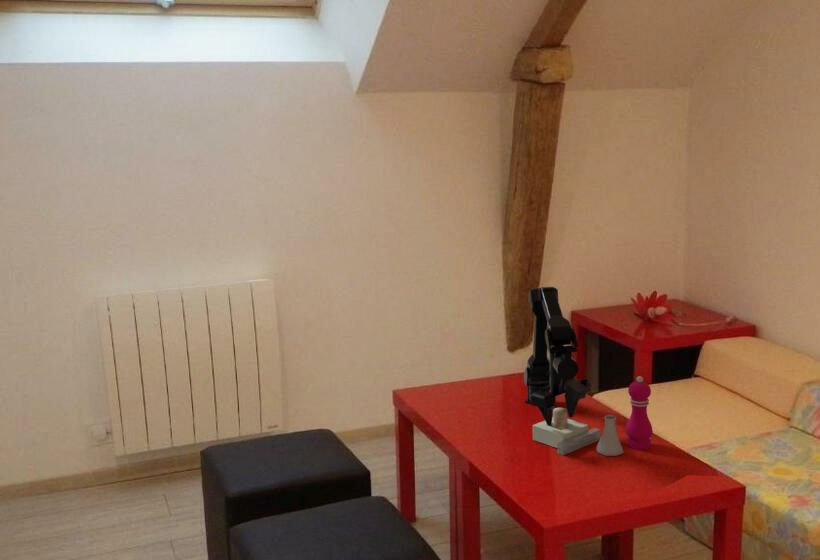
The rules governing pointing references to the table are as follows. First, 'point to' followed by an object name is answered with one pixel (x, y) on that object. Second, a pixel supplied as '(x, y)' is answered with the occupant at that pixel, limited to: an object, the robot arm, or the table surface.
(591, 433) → the bar
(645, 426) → the pepper mill
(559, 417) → the dowel
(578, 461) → the table surface
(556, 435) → the block
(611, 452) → the flask
